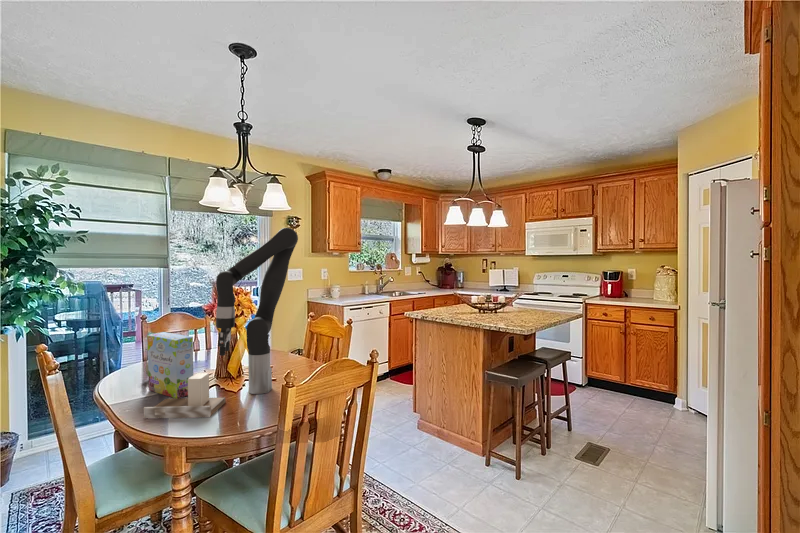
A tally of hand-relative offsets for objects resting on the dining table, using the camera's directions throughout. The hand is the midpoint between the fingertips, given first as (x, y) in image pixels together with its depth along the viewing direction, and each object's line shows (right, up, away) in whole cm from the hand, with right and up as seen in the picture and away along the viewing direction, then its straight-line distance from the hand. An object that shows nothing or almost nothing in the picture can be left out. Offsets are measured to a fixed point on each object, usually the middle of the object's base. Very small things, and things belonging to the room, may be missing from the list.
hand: (224, 353), depth 170 cm
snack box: (-25, -18, +2) cm, 31 cm away
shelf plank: (-7, -19, -17) cm, 26 cm away
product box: (-3, -16, -16) cm, 23 cm away
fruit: (-42, -18, +21) cm, 50 cm away
